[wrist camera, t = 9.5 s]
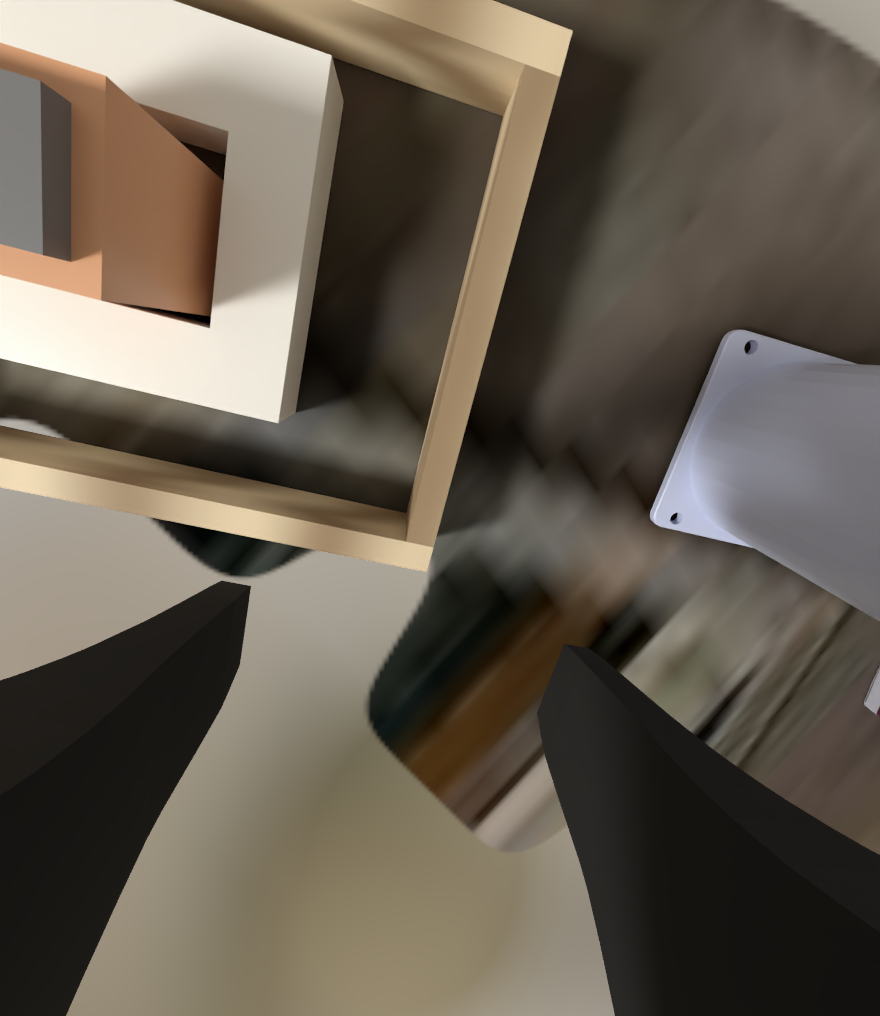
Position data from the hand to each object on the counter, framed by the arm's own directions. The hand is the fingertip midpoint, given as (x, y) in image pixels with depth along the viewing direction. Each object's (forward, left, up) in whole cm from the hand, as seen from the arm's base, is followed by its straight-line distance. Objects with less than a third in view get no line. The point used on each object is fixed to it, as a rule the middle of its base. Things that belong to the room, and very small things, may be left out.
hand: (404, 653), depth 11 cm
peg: (+10, -8, -9) cm, 16 cm away
